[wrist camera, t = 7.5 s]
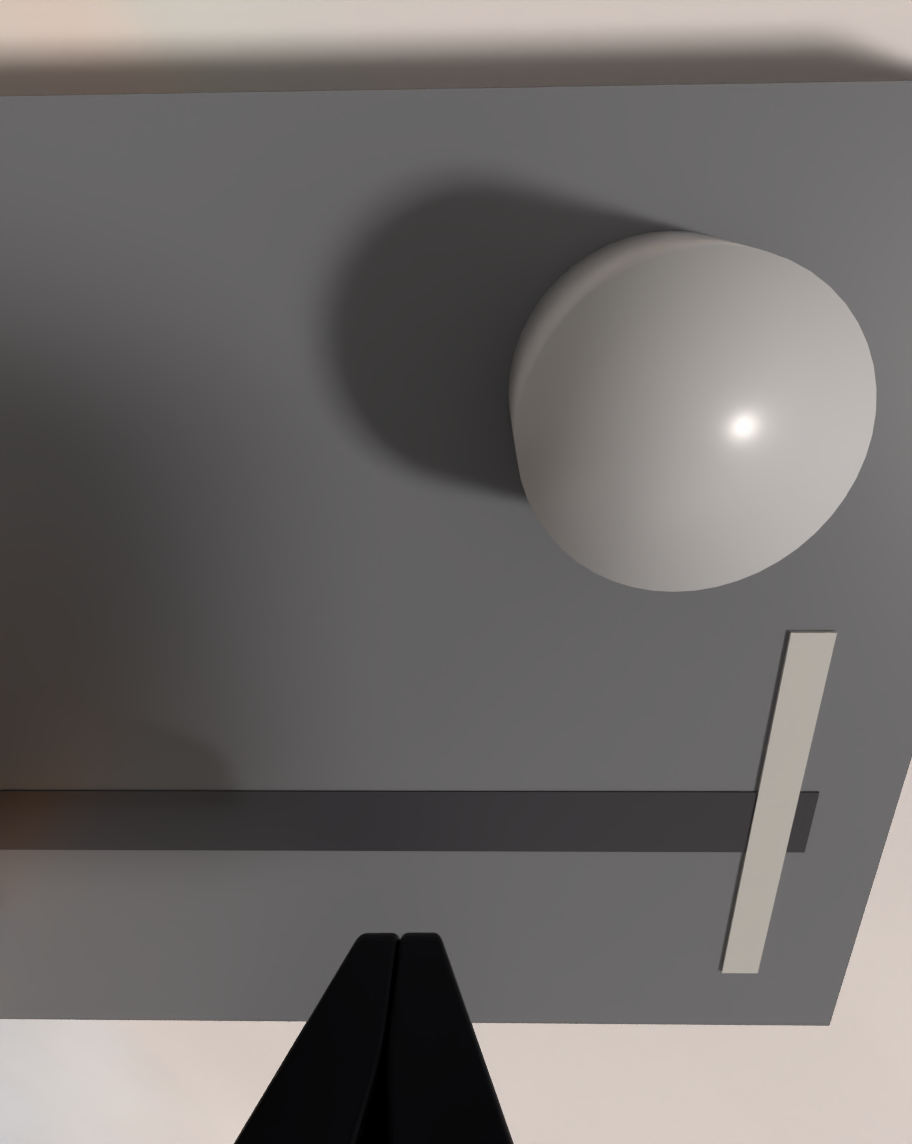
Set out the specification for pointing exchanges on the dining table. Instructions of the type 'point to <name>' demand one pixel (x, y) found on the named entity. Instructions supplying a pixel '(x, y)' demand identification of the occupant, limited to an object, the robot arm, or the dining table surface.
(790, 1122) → the dining table surface
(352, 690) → the board
